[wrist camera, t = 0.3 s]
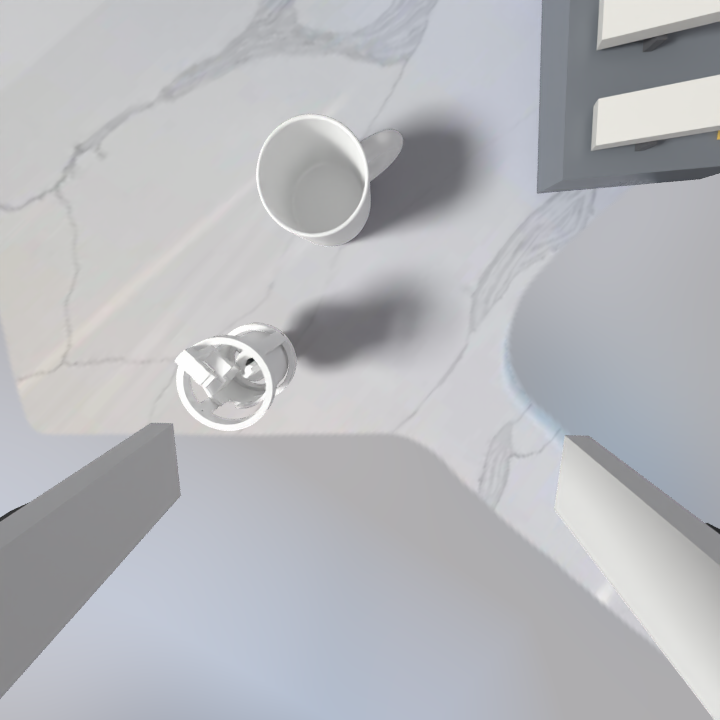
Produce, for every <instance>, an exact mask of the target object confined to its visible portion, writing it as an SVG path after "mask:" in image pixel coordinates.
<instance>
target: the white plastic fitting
mask: <svg viewBox="0 0 720 720" xmlns="http://www.w3.org/2000/svg"><path fill="white" fill-rule="evenodd" d="M247 330H261V331H252V332H248V333H246V334H244V335H241V336H239V337H238V336H237V335H239V334H240V333H241V332H243V331H247ZM263 331H264V332H263ZM215 344H221V345H220V346H218V347H217V348H215V347H214V346H212V345H215ZM236 351H238V352H239V353H240V354H239V355H238V357H237V360H236V364H235V353H236ZM203 361H205V362H206V363H207V364H208V365H209V366H210V367H211V368H212V369H214V370H215V371H214V372H213V371H212V370H211V369H210V368H209V367H208V366H207V365H205V364H204V363H203ZM174 362H175V363H176V364H177V365H178V370H177V376H176V383H177V390H178V394H179V396H180V399H181V401H182V403H183V405H184V406H185V408H186V409H187V410H188V412H189V413H190V414H191V415H192V416H193V417H194V418H195V419H197V420H198V421H199V422H201V423H203V424H204V425H206V426H208V427H211V428H214V429H218V430H223V431H235V430H240V429H244V428H246V427H249V426H251V425H252V424H254V423H255V422H257V421H258V420H259V419H260V418H261V417H262V416H263V415H264V414H265V412H266V411H267V410H268V409H269V407H270V406H271V404H272V402H273V400H274V397H275V395H277V394H279V393H280V392H281V391H283V390H284V389H285V388H286V386H287V385H288V384H289V383H290V381H291V380H292V378H293V376H294V374H295V370H296V364H297V360H296V353H295V350H294V347H293V345H292V343H291V341H290V340H289V339H288V337H287V336H286V335H285V334H284V333H283V332H281V331H280V330H279V329H277V328H275V327H273V326H271V325H268V324H264V323H250V324H246V325H243V326H241V327H238V328H236V329H234V330H233V331H231V332H230V333H229V334H228V335H219V336H214V337H211V338H208V339H206V340H203V341H201V342H199V343H197V344H195V345H194V346H192V347H190V348H188V349H185V350H184V351H182V352H181V354H180V355H179V356H178V357H177V358H176V359H175V361H174ZM288 364H289V369H288ZM287 369H288V373H287V376H286V378H285V380H284V382H283V383H282V384H281V385H279V386H278V387H276V385H277V384H278V383H279V382H280V381H281V380H282V379H283V377H284V376H285V374H286V372H287ZM190 376H191V377H192V378H193V379H194V381H196V382H197V383H198V384H199V385H201V386H202V387H203V388H204V390H205V392H206V393H207V395H208V396H209V397H208V398H207V399H205V400H204V401H202V402H201V403H200V402H199V401H198V400H197V398H196V396H195V394H194V392H193V390H192V386H191V381H190ZM263 378H265V384H256V383H253V382H250V381H259V380H261V379H263ZM248 380H249V381H248ZM263 399H264V401H263V404H262V406H261V407H260V409H259V410H258V411H257V412H255V413H254V414H252V415H250V416H248V417H245V418H241V419H226V418H222V417H219V416H217V415H214V414H213V413H212V412H213V411H215V410H216V409H217V408H218V407H219V406H222V405H223V404H224V403H226V402H227V401H228V402H230V403H233V404H237V406H236V407H235V408H249V407H252V406H255V405H257V404H258V403H260V402H261V401H262V400H263Z"/></svg>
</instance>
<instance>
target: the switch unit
mask: <svg viewBox="0 0 720 720" xmlns="http://www.w3.org/2000/svg"><path fill="white" fill-rule="evenodd" d="M599 1H600V0H542V31H541V68H540V105H539V141H538V178H537V193H548V192H559V191H570V190H582V189H593V188H605V187H616V186H627V185H639V184H649V183H661V182H673V181H684V180H695V179H702V178H705V177H708V176H712V175H715V174H719V173H720V130H718V131H712V132H705V133H699V134H693V135H687V136H681V137H674V138H668V139H662V140H656V141H649V142H643V143H637V144H631V145H624V146H618V147H612V148H606V149H600V150H593V151H591V143H592V125H593V107H594V105H595V103H596V102H597V100H598V99H600V98H605V97H610V96H615V95H620V94H625V93H630V92H635V91H640V90H645V89H650V88H655V87H660V86H665V85H670V84H675V83H680V82H685V81H690V80H695V79H700V78H705V77H710V76H715V75H720V21H719V22H715V23H711V24H706V25H702V26H698V27H694V28H689V29H685V30H681V31H677V32H673V33H668V34H664V35H660V36H656V37H651V38H647V39H643V40H639V41H634V42H630V43H626V44H622V45H618V46H613V47H609V48H605V49H601V50H597V35H598V17H599Z"/></svg>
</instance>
